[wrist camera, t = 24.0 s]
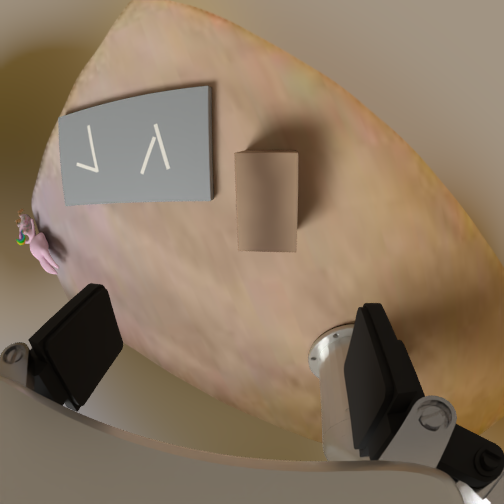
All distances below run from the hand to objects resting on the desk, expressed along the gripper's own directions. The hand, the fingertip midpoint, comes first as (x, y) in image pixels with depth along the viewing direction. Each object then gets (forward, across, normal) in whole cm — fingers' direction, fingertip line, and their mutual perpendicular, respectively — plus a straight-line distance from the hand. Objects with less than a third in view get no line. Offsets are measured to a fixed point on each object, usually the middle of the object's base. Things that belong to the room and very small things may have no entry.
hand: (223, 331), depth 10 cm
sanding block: (+26, 0, 0) cm, 26 cm away
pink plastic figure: (+26, +41, +7) cm, 49 cm away
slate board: (+26, +19, -6) cm, 33 cm away
